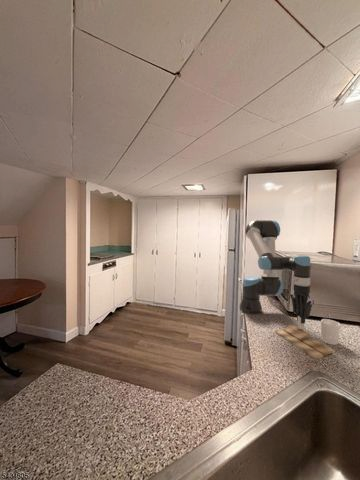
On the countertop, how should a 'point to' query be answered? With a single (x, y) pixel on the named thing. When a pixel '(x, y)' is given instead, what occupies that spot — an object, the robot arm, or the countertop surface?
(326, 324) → the white cup
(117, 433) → the countertop surface
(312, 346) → the plank
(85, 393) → the countertop surface
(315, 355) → the laid board
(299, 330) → the plank
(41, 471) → the countertop surface
